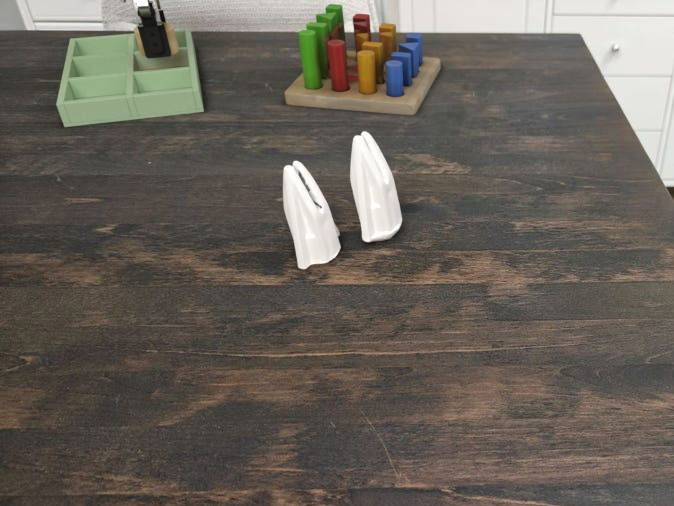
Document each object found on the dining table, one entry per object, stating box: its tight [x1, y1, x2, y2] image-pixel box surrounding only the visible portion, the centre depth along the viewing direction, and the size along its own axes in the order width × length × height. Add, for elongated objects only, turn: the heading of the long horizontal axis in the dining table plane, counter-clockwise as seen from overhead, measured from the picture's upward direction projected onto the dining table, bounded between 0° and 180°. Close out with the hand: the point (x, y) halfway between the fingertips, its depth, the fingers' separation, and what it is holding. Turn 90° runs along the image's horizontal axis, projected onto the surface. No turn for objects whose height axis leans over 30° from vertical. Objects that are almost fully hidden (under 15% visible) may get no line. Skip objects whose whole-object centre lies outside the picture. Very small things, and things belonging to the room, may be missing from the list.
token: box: [133, 21, 179, 57], centre depth 99 cm, size 5×5×3 cm
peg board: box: [283, 3, 442, 116], centre depth 100 cm, size 18×17×9 cm
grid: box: [55, 28, 205, 128], centre depth 100 cm, size 16×24×3 cm
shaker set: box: [282, 131, 403, 270], centre depth 69 cm, size 12×4×11 cm, turn 121°
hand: (158, 48), depth 99 cm, fingers closed on token, 4 cm apart
